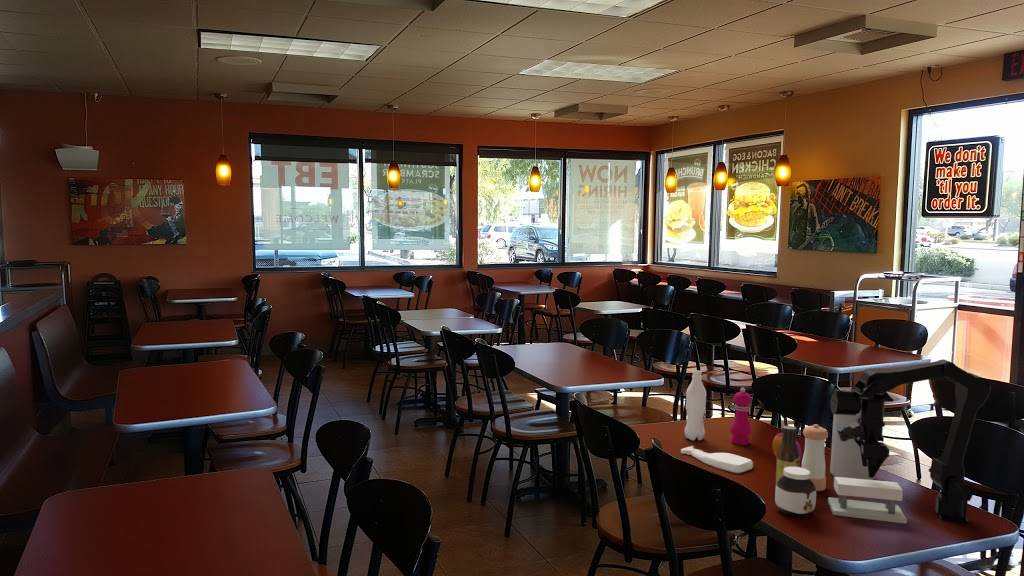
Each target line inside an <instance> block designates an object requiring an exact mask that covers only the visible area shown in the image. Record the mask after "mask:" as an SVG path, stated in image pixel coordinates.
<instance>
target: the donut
mask: <svg viewBox="0 0 1024 576" xmlns="http://www.w3.org/2000/svg"><path fill="white" fill-rule="evenodd" d="M781 443H782V432H781V433H780V432H778V433H776V434H775V436H774V437H773V441H772V451H773V453H774V456H775V457H776V458H777V450H778V448H779V446H780V445H781ZM796 445H797V448H798V451H799V454H800V460H801V458H802V447H801V445H800V444H799V441H798V440H796Z"/></svg>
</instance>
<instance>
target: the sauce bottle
mask: <svg viewBox="0 0 1024 576" xmlns="http://www.w3.org/2000/svg"><path fill="white" fill-rule="evenodd" d="M797 429H798V428H797V427H795V426H792V425H783V426H782V427H781V433H782V443H781V445H780V446H779V448H778V450H777V457H776V466H775V467H776V470H775V485H776V484H777V481H778V480H779V478H780V477H782V476H783V475H784V474H783V472H784V468H785V467H800V461H801V459H800V454H799V451H798V448H797V445H796V441H797V431H798V430H797Z"/></svg>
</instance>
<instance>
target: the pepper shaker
mask: <svg viewBox="0 0 1024 576" xmlns="http://www.w3.org/2000/svg"><path fill="white" fill-rule="evenodd" d="M802 435H803V437H804V438H805V439H804V452H803V456H802V460H801V468H804V469H807V470H809V471H810V479H811V480H812V481H813V483H814V484H815V486H816V492H821V491H825V490H826V484H827V476H826V467H827V466H826V456H825V446H826V445H825V444H826V440H827V439H828V438H829V433H828V430H827V429H826V428H824V427H822V426H820V425H819V424H817V423H815V424H813V425H809V426H806V427H804V428H803V431H802Z"/></svg>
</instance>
